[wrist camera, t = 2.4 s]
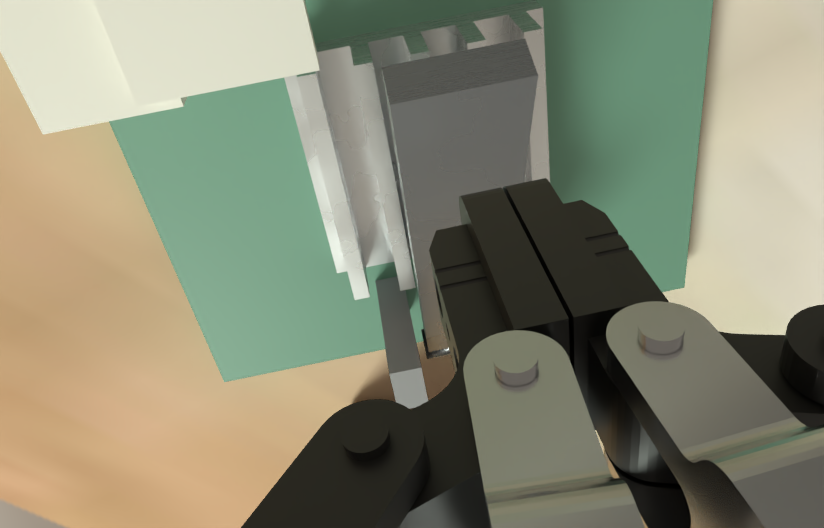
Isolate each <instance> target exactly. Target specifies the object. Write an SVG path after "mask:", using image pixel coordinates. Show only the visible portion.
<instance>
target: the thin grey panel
mask: <svg viewBox="0 0 824 528" xmlns="http://www.w3.org/2000/svg"><path fill="white" fill-rule="evenodd" d="M382 73H383V80H384V86H385V92H386V98H387V104H388V111H389V117H390V123H391V129H392V135H393V142H394V148H395V154H396V160H397V167H398V173H399V179H400V185H401V191H402V198H403V204H404V210H405V216H406V222H407V229H408V235H409V241H410V247H411V253H412V260H413V266H414V272H415V278H416V284H417V291H418V297H419V303H420V309H421V315H422V322H423V328H424V329H421V331H422V337H423V342H424V347H425V351H426V356H427V359H429V358H430V359H433V358H438V357H443V356H448V355H451V354H450V351H449V347H448V344H447V339H446V336H445V333H444V329H443V325H442V322H441V318H440V312H439V306H438V300H437V295H436V289H435V283H434V277H433V271H432V265H431V259H430V253H429V249H430V246H431V243H432V240H433V238H434V235H435V232H436V230H440V229H445V228H450V227H455V226H459V225H462V223H461V216H460V208H459V196H462V195H466V194H471V193H476V192H481V191H486V190H491V189H495V188H500V187H501V188H502V189H503V187H504V186H509V185H514V184H519V183H524V178H525V170H526V163H527V155H528V148H529V140H530V133H531V125H532V118H533V110H534V103H535V95H536V88H537V81H538V73H537V71H536V68H535V65H534V62H533V59H532V56H531V54H530V51H529V48H528V45H527V42H526V39H520V40H515V41H509V42H504V43H499V44H494V45H489V46H484V47H479V48H474V49H469V50H464V51H459V52H454V53H449V54H444V55H439V56H434V57H429V58H424V59H419V60H413V61H408V62H403V63H398V64H393V65H388V66H383V67H382Z"/></svg>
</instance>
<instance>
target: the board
mask: <svg viewBox="0 0 824 528" xmlns="http://www.w3.org/2000/svg"><path fill="white" fill-rule="evenodd" d="M527 1H532V0H305V3H306V8H307V12H308V16H309V20H310V25H311V29H312V33H313V37H314V41H315V43H319V42H324V41H329V40H334V39H339V38H344V37H349V36H355V35H360V34H365V33H370V32H375V31H380V30H385V29H390V28H395V27H400V26H405V25H410V24H415V23H421V22H426V21H431V20H436V19H441V18H446V17H451V16H456V15H461V14H466V13H471V12H476V11H481V10H487V9H492V8H497V7H502V6H507V5H512V4H517V3H522V2H527ZM535 1H537V2H538V3H539V4H540V5H541V6H542V7H543V18H544V43H545V67H546V92H547V117H548V142H549V167H550V184H551V185H552V187H553V189H554V190H555V192H556V193H557V195H558V196H559V198H560V200H561V201H562V203H563V204H564V203H569V202H574V201H579V200H583V201H585V202H587V203H588V204H590V205H592V206H594V207H595V208H597V209H599V210H601V211H602V212H604V213H605V214H606V215H607V216H608V218H609V219H610V221H611V222H612V223H613V225H614V226H615V227H616V229H617V230H618V234H619V235H621V236H622V237H623V239H624V240H625V241H626V243H627V244H628V246H629V250H632V251H633V253H634V254H635V255H636V257H637V258H638V260H639V261H640V262H641V264H642V265H643V267H644V268H645V269H646V271H647V272H648V274H649V275H650V276H651V278H652V279H653V281H654V282H655V283H656V285H657V286H658V288H659V289H660V290H661V292H665V291H670V290H674V289H679V288H684V285H685V275H686V266H687V256H688V246H689V236H690V226H691V216H692V206H693V196H694V186H695V176H696V166H697V156H698V146H699V136H700V126H701V116H702V106H703V96H704V87H705V77H706V67H707V57H708V47H709V37H710V27H711V17H712V7H713V0H535ZM109 123H110V125H111V127H112V129H113V132H114V134H115V136H116V138H117V141H118V143H119V145H120V147H121V150H122V152H123V154H124V156H125V159H126V161H127V163H128V165H129V168H130V170H131V172H132V175H133V177H134V179H135V181H136V184H137V186H138V188H139V190H140V193H141V195H142V197H143V199H144V202H145V204H146V206H147V208H148V211H149V213H150V215H151V217H152V220H153V222H154V224H155V226H156V229H157V231H158V233H159V235H160V238H161V240H162V242H163V244H164V247H165V249H166V251H167V253H168V256H169V258H170V260H171V263H172V265H173V267H174V269H175V272H176V274H177V276H178V278H179V281H180V283H181V285H182V287H183V290H184V292H185V294H186V296H187V299H188V301H189V303H190V305H191V308H192V310H193V312H194V314H195V317H196V319H197V321H198V323H199V326H200V328H201V330H202V332H203V335H204V337H205V339H206V341H207V344H208V346H209V348H210V351H211V353H212V355H213V357H214V360H215V362H216V364H217V366H218V369H219V371H220V373H221V375H222V378H223V380H224V382H227V381H232V380H237V379H242V378H247V377H251V376H256V375H261V374H266V373H271V372H276V371H281V370H286V369H290V368H295V367H300V366H305V365H310V364H315V363H320V362H324V361H329V360H334V359H339V358H344V357H349V356H354V355H358V354H363V353H368V352H373V351H378V350H383V349H386V355H387V362H388V369H389V375H390V379H391V383H392V387H393V391H394V396H395V400H396V402H397V403H399V404H402V405H404V406H406V407H407V408H409V409H410V408H415V407H418V406H420V405H422V404H423V403H425V402H427V401H428V397H427V393H426V388H425V383H424V378H423V373H422V368H421V363H420V358H419V353H418V348H417V342H422V341H423V337H422V331H421V329H424V328H423V322H422V315H421V309H420V303H419V297H418V291H417V284H416V278H415V272H414V266H413V260H412V258H410V260H411V266H412V271H413V276H414V281H415V287H416V288H412V289H407V290H402V291H400V286H399V281H398V276H397V272H396V267H395V262H390V263H385V264H380V265H375V266H370V267H366V271H367V278H368V286H369V293H370V297H368V298H363V299H358V300H355V299H354V295H353V292H352V288H351V284H350V280H349V276H348V272H347V271H346V272H341V273H337V271H336V267H335V263H334V260H333V256H332V252H331V248H330V245H329V241H328V237H327V234H326V230H325V226H324V223H323V219H322V215H321V212H320V208H319V204H318V201H317V197H316V193H315V190H314V186H313V182H312V178H311V175H310V171H309V167H308V164H307V160H306V156H305V153H304V149H303V145H302V142H301V138H300V134H299V131H298V127H297V123H296V120H295V116H294V112H293V108H292V105H291V101H290V97H289V94H288V90H287V86H286V83H285V79H284V78H279V79H274V80H269V81H264V82H259V83H254V84H248V85H243V86H238V87H233V88H228V89H223V90H218V91H213V92H208V93H203V94H198V95H193V96H188V97H187V99H186V101H185V104H184V107H179V108H174V109H169V110H164V111H159V112H154V113H149V114H144V115H139V116H134V117H129V118H123V119H118V120H113V121H109Z"/></svg>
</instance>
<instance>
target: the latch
mask: <svg viewBox="0 0 824 528" xmlns="http://www.w3.org/2000/svg"><path fill="white" fill-rule="evenodd" d="M0 51H1V53H2V55H3V57H4V59H5V61H6V63H7V65H8V67H9V69H10V71H11V73H12V75H13V77H14V79H15V81H16V83H17V85H18V87H19V88H20V90H21V92H22V94H23V96H24V98H25V100H26V102H27V104H28V106H29V108H30V110H31V112H32V114H33V116H34V118H35V120H36V122H37V124H38V126H39V128H40V130H41V132H42V134H48V133H53V132H58V131H63V130H68V129H73V128H78V127H83V126H88V125H93V124H98V123H103V122H108V121H113V120H118V119H123V118H129V117H134V116H139V115H144V114H149V113H154V112H159V111H164V110H169V109H174V108H179V107H184V104H185V101H186V99H187V97H188V96H193V95H198V94H203V93H208V92H213V91H218V90H223V89H228V88H233V87H238V86H243V85H248V84H254V83H259V82H264V81H269V80H274V79H279V78H284V77H289V76H294V75H299V74H304V73H309V72H314V71H319V70H320V65H319V58H318V54H317V50H316V46H315V41H314V37H313V33H312V29H311V25H310V20H309V16H308V12H307V8H306V3H305V0H0Z"/></svg>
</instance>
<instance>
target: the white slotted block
mask: <svg viewBox="0 0 824 528" xmlns="http://www.w3.org/2000/svg"><path fill="white" fill-rule="evenodd" d="M520 39H526V42H527V45H528V48H529V51H530V54H531V56H532V59H533V62H534V65H535V68H536V71H537V73H538V81H537V88H536V95H535V103H534V110H533V118H532V125H531V133H530V140H529V148H528V155H527V163H526V170H525V178H524V182H528V181H533V180H538V179H543V178H546V179H547V180H548V181H549V182H550V167H549V142H548V117H547V92H546V67H545V43H544V18H543V7H542V6H541V5H540V4H539V3H538V2H537V1H535V0H532V1H527V2H522V3H517V4H512V5H507V6H502V7H497V8H492V9H487V10H481V11H476V12H471V13H466V14H461V15H456V16H451V17H446V18H441V19H436V20H431V21H426V22H421V23H415V24H410V25H405V26H400V27H395V28H390V29H385V30H380V31H375V32H370V33H365V34H360V35H355V36H349V37H344V38H339V39H334V40H329V41H324V42H319V43H315V46H316V50H317V54H318V58H319V65H320V70H319V71H314V72H309V73H304V74H299V75H294V76H289V77H284V79H285V83H286V86H287V90H288V94H289V97H290V101H291V105H292V108H293V112H294V116H295V120H296V123H297V127H298V131H299V134H300V138H301V142H302V145H303V149H304V153H305V156H306V160H307V164H308V167H309V171H310V175H311V178H312V182H313V186H314V190H315V193H316V197H317V201H318V204H319V208H320V212H321V215H322V219H323V223H324V226H325V230H326V234H327V237H328V241H329V245H330V248H331V252H332V256H333V260H334V263H335V267H336V271H337V273H341V272H346V271H347V272H348V276H349V280H350V284H351V288H352V292H353V295H354V299H355V300H358V299H363V298H368V297H370V293H369V286H368V278H367V271H366V267H370V266H375V265H380V264H385V263H390V262H395V267H396V272H397V276H398V281H399V286H400V291H402V290H407V289H412V288H416V287H415V281H414V276H413V271H412V266H411V260H410V258H412V253H411V247H410V241H409V235H408V229H407V222H406V216H405V210H404V204H403V198H402V191H401V185H400V179H399V173H398V167H397V160H396V154H395V148H394V142H393V135H392V129H391V123H390V117H389V111H388V104H387V98H386V92H385V86H384V80H383V73H382V67H383V66H388V65H393V64H398V63H403V62H408V61H413V60H419V59H424V58H429V57H434V56H439V55H444V54H449V53H454V52H459V51H464V50H469V49H474V48H479V47H484V46H489V45H494V44H499V43H504V42H509V41H515V40H520Z"/></svg>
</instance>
